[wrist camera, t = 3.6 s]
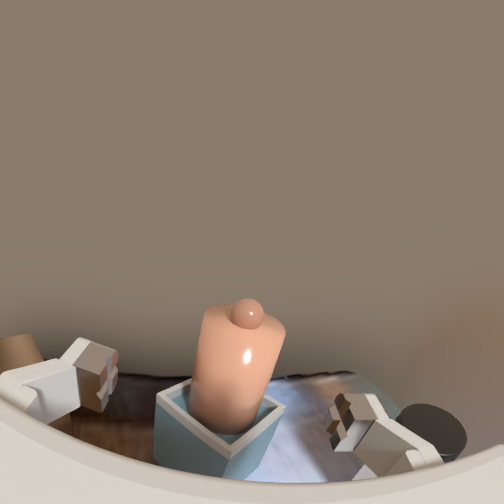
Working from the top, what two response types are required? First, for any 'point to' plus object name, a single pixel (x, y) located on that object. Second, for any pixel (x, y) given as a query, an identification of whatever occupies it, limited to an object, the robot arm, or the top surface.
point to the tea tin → (209, 438)
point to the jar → (429, 432)
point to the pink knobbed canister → (233, 366)
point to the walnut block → (24, 354)
